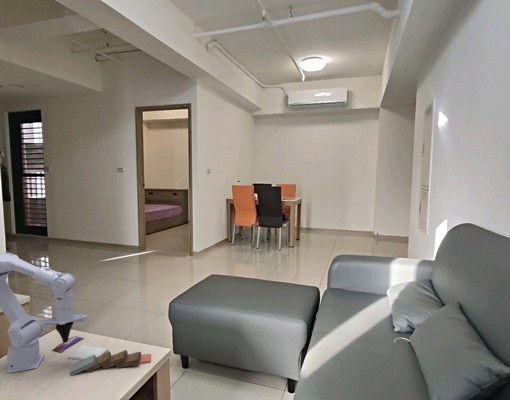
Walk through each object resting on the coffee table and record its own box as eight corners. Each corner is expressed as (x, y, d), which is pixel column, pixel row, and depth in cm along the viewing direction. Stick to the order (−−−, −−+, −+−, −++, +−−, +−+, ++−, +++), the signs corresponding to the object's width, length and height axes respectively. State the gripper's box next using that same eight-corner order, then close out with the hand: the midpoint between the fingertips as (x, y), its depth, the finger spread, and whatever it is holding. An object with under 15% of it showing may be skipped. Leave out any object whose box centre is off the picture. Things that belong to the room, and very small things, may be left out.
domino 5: (128, 363, 118) (150, 360, 120) (129, 356, 122) (150, 353, 125) (128, 367, 118) (150, 364, 120) (129, 360, 123) (150, 357, 125)
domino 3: (102, 365, 115) (123, 357, 116) (106, 358, 120) (126, 349, 121) (103, 369, 115) (124, 360, 117) (107, 361, 120) (127, 353, 121)
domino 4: (115, 364, 116) (137, 359, 117) (120, 356, 121) (140, 351, 122) (116, 368, 116) (138, 362, 117) (121, 360, 121) (141, 355, 122)
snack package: (75, 334, 138) (84, 335, 136) (75, 338, 138) (84, 340, 137) (51, 347, 127) (60, 350, 125) (51, 352, 127) (61, 354, 126)
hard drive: (67, 356, 122) (94, 359, 119) (82, 344, 130) (108, 348, 127) (67, 360, 122) (94, 363, 120) (82, 348, 130) (108, 351, 128)
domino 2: (86, 369, 113) (108, 358, 116) (88, 361, 118) (109, 351, 120) (87, 372, 114) (110, 361, 116) (89, 364, 118) (111, 354, 121)
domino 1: (69, 372, 111) (93, 361, 114) (72, 364, 116) (94, 354, 118) (71, 375, 112) (94, 365, 114) (74, 367, 116) (96, 357, 119)
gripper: (38, 313, 109) (39, 350, 111) (83, 308, 114) (85, 343, 115) (44, 305, 116) (46, 340, 117) (87, 301, 121) (88, 334, 122)
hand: (65, 341), depth 117 cm, fingers closed
